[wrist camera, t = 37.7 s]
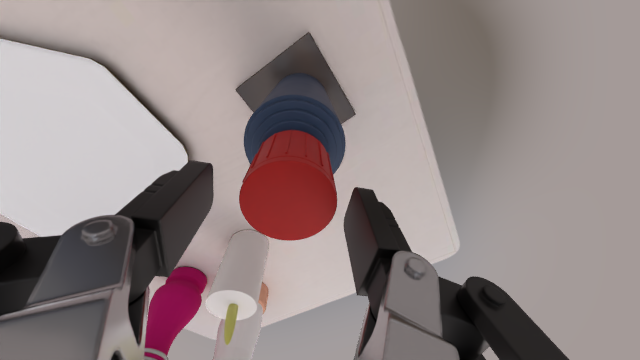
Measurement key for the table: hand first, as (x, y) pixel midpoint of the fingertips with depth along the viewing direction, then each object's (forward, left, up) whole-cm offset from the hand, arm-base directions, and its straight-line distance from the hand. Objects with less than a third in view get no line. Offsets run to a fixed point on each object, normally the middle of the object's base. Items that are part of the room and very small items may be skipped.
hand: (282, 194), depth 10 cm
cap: (0, 0, -3) cm, 3 cm away
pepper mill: (+34, +14, -20) cm, 42 cm away
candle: (+20, +14, -20) cm, 32 cm away
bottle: (0, 0, -19) cm, 19 cm away
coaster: (0, 0, -20) cm, 20 cm away
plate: (+28, -9, -20) cm, 36 cm away
